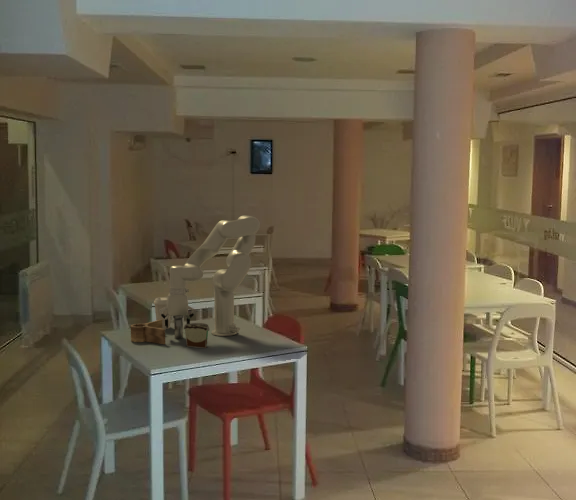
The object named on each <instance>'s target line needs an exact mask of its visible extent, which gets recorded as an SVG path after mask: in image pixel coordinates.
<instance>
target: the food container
mask: <svg viewBox="0 0 576 500" xmlns="http://www.w3.org/2000/svg"><path fill="white" fill-rule="evenodd" d="M183 330H184V332H185V333H184V334H185V341H186V347H190V348H196V349H197V348H198V349H199V348H200V349H207V347H208V335H209V332H210V326H209V324H207V323H202V322H201V323H200V322H193V323H191V322H190V324H184V325H183Z"/></svg>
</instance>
